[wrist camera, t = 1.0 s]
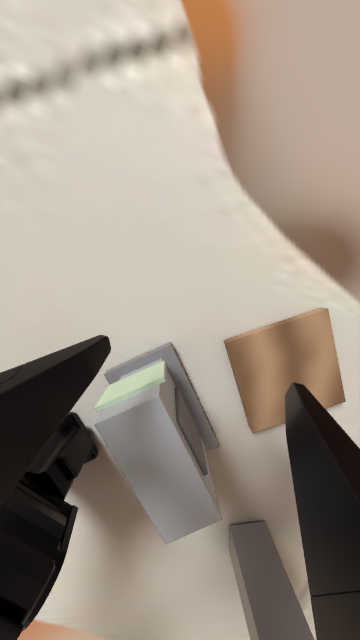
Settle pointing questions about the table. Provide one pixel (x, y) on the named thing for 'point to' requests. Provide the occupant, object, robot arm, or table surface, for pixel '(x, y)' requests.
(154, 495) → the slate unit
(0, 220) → the table surface
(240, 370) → the walnut pad
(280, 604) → the block
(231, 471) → the table surface
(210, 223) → the table surface
